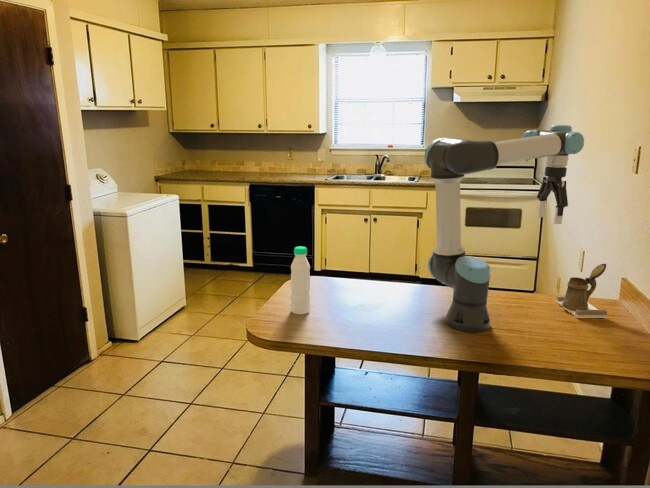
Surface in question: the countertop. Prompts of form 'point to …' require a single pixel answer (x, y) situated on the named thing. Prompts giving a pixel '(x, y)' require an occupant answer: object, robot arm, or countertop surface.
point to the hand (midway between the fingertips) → (549, 220)
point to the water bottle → (300, 282)
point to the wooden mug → (581, 290)
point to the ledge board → (585, 313)
